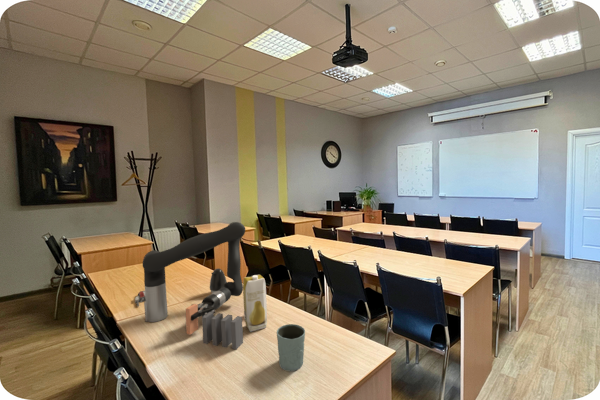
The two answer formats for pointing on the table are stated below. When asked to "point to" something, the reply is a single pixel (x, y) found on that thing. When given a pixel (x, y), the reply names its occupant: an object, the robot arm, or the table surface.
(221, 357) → the table surface
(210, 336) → the domino
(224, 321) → the domino
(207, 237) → the robot arm
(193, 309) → the domino
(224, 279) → the black rounded cone
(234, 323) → the domino
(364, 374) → the table surface
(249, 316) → the juice carton
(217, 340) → the domino
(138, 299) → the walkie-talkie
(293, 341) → the grey green cup
